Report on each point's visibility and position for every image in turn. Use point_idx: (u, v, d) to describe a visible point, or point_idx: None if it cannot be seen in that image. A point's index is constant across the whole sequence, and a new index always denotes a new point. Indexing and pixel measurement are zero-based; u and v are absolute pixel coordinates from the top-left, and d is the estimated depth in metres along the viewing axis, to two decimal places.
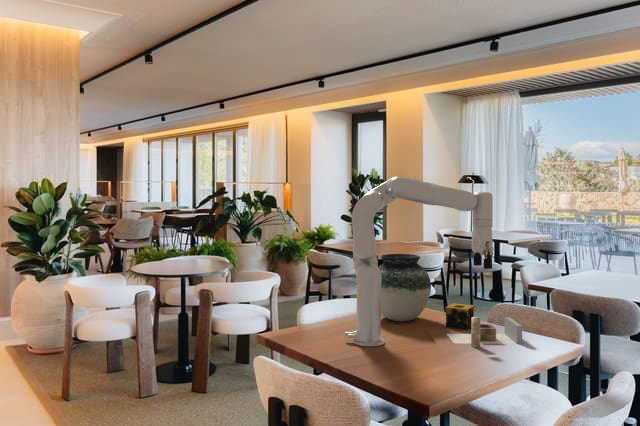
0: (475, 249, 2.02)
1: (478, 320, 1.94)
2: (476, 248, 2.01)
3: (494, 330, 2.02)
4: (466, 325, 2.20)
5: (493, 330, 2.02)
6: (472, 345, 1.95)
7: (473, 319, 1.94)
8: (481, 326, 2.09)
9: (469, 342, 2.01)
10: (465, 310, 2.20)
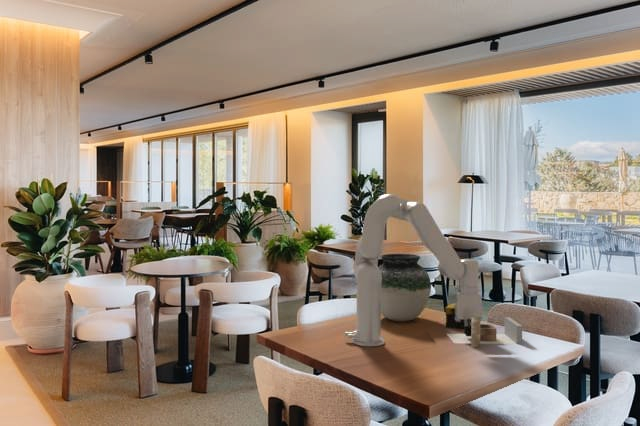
0: (469, 316, 2.03)
1: (478, 320, 1.94)
2: (472, 315, 2.03)
3: (494, 330, 2.02)
4: None
5: (493, 330, 2.02)
6: (472, 345, 1.95)
7: (473, 319, 1.94)
8: (481, 326, 2.09)
9: (469, 342, 2.01)
10: None
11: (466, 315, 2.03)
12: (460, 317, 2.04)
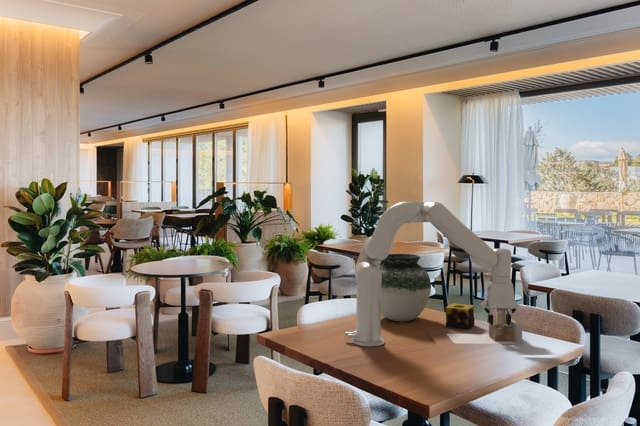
0: (501, 306, 2.03)
1: (503, 311, 2.04)
2: (504, 305, 2.03)
3: (512, 330, 2.02)
4: (466, 325, 2.20)
5: (511, 330, 2.02)
6: None
7: (499, 310, 2.05)
8: None
9: (469, 342, 2.01)
10: (465, 310, 2.20)
11: (498, 304, 2.03)
12: (492, 306, 2.03)
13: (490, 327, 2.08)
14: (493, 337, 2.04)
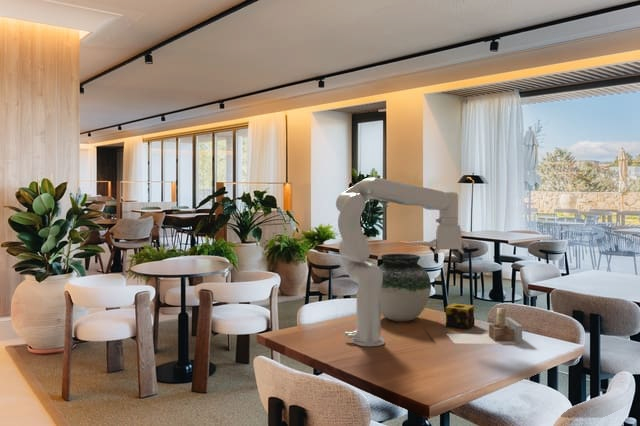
0: (449, 246, 2.12)
1: (503, 311, 2.05)
2: (451, 245, 2.12)
3: (512, 330, 2.02)
4: (466, 325, 2.20)
5: (511, 330, 2.02)
6: None
7: (499, 310, 2.05)
8: None
9: (469, 342, 2.01)
10: (465, 310, 2.20)
11: (446, 245, 2.12)
12: (440, 247, 2.12)
13: (490, 327, 2.08)
14: (493, 337, 2.04)
